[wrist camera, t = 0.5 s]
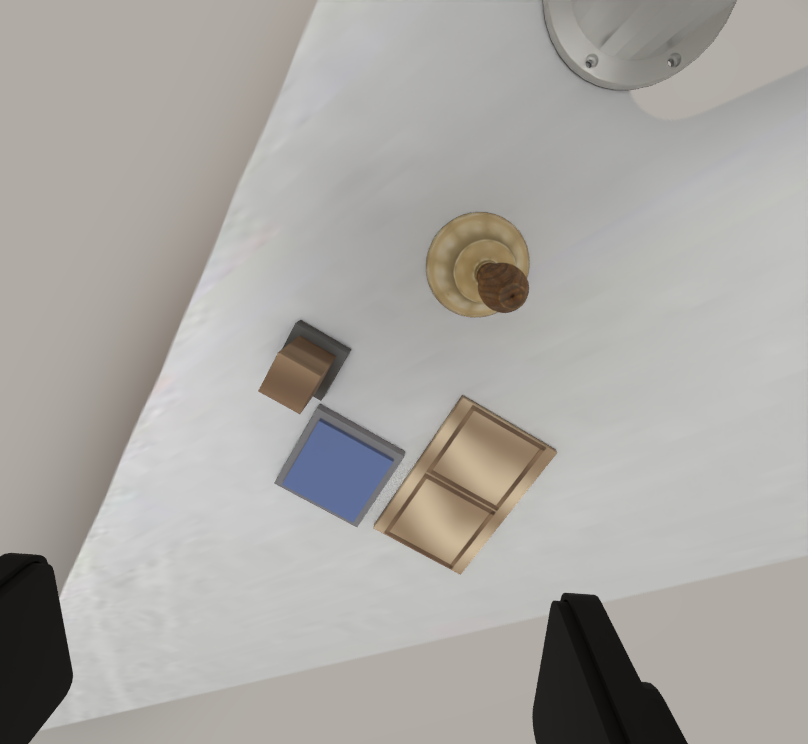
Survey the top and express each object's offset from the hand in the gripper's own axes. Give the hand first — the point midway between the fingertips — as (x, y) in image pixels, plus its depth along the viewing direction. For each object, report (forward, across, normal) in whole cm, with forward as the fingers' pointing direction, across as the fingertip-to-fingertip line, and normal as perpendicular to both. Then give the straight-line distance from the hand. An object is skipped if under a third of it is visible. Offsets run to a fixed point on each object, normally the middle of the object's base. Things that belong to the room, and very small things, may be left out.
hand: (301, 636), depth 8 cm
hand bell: (+31, -6, -6) cm, 33 cm away
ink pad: (+32, +5, +13) cm, 35 cm away
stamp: (+32, +7, +3) cm, 33 cm away
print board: (+32, -7, +15) cm, 36 cm away
